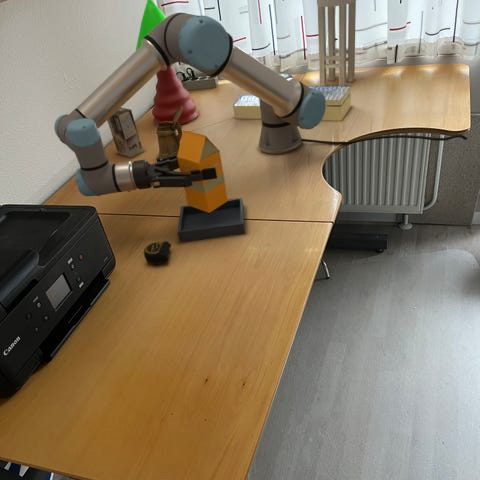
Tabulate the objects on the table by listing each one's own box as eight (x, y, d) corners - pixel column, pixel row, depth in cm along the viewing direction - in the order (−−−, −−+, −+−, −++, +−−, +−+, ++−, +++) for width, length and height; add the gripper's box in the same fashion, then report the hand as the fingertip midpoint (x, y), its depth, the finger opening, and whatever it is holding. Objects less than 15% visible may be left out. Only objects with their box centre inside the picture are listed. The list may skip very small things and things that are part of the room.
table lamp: (187, 127, 200) (159, 0, 170) (146, 127, 207) (112, 5, 176) (205, 109, 213) (183, -12, 183) (166, 109, 220) (138, -7, 189)
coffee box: (144, 151, 188) (131, 109, 177) (131, 158, 185) (118, 115, 174) (130, 147, 193) (117, 106, 182) (117, 153, 190) (103, 112, 179)
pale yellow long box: (351, 106, 192) (351, 78, 185) (340, 121, 182) (340, 92, 175) (248, 105, 209) (245, 80, 202) (234, 118, 200) (230, 92, 193)
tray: (243, 207, 145) (242, 197, 143) (245, 233, 134) (243, 223, 132) (183, 215, 147) (180, 206, 144) (179, 242, 136) (177, 232, 134)
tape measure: (169, 265, 128) (165, 254, 126) (144, 267, 129) (140, 256, 127) (172, 250, 133) (169, 239, 131) (148, 253, 134) (145, 241, 132)
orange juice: (209, 213, 131) (194, 141, 118) (187, 205, 136) (171, 135, 123) (228, 200, 135) (216, 129, 122) (206, 193, 140) (193, 124, 127)
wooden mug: (186, 160, 176) (175, 110, 164) (155, 158, 181) (142, 109, 169) (197, 149, 182) (187, 100, 170) (166, 148, 187) (154, 100, 175)
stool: (346, 91, 205) (347, -7, 181) (313, 89, 212) (310, -5, 189) (360, 78, 213) (363, -16, 190) (328, 77, 221) (327, -14, 197)
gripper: (144, 170, 141) (219, 159, 139) (133, 208, 124) (218, 197, 122) (136, 145, 136) (214, 133, 134) (124, 182, 119) (213, 169, 117)
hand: (216, 164), depth 128 cm, fingers closed on orange juice, 10 cm apart
